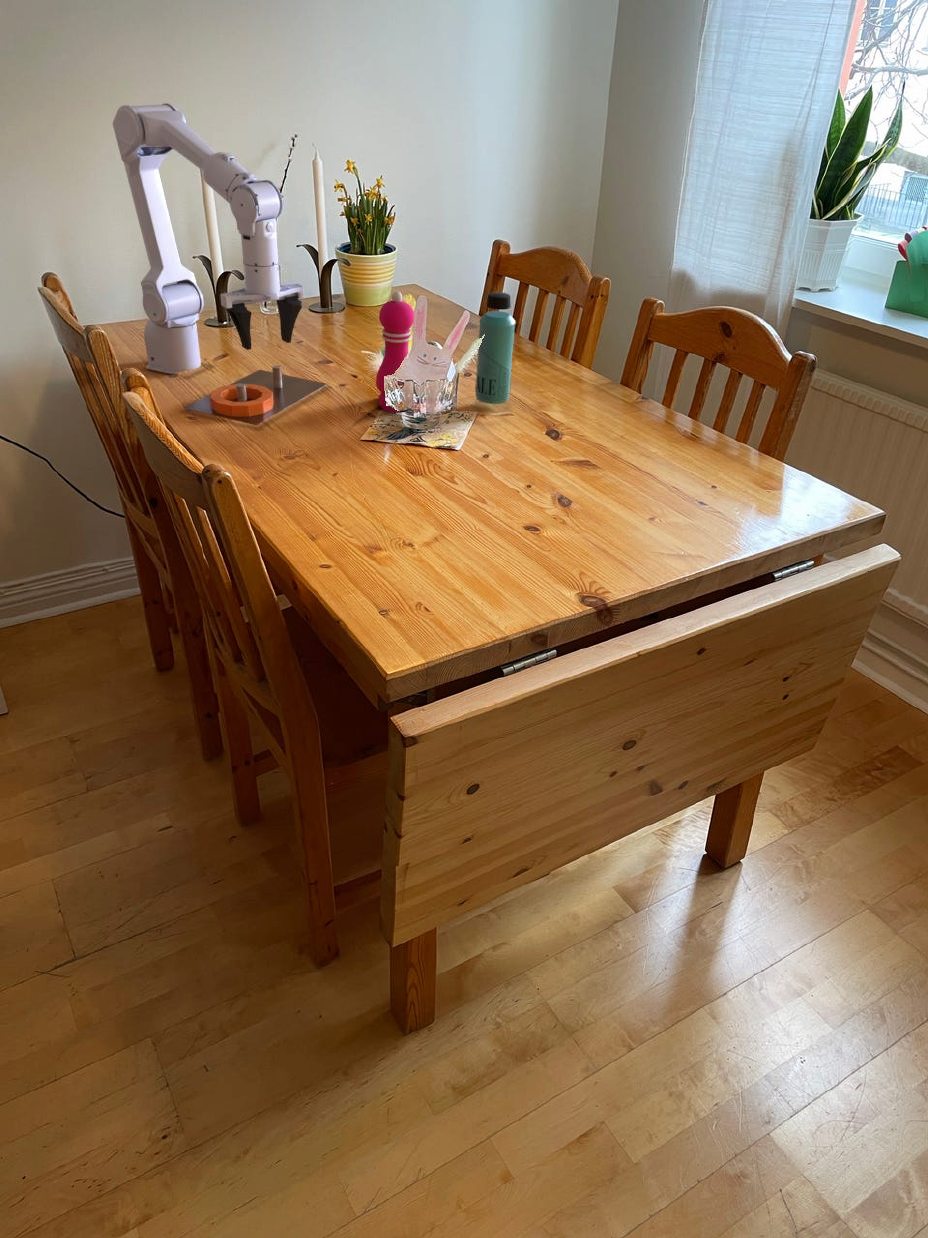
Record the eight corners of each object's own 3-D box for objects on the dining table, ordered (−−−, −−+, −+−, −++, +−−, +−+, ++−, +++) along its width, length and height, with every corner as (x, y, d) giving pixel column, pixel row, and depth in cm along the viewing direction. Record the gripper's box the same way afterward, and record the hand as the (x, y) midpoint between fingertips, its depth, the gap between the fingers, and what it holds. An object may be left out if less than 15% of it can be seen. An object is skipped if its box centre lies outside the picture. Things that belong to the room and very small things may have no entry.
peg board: (183, 412, 153) (180, 386, 151) (260, 373, 171) (258, 350, 168) (257, 429, 149) (254, 403, 146) (328, 387, 166) (327, 364, 164)
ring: (199, 409, 152) (197, 397, 151) (235, 390, 160) (234, 379, 159) (250, 421, 149) (249, 409, 148) (284, 401, 157) (284, 390, 156)
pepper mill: (410, 415, 157) (412, 299, 146) (371, 410, 158) (370, 294, 147) (420, 401, 163) (423, 288, 152) (382, 396, 164) (382, 284, 153)
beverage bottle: (510, 400, 165) (519, 289, 154) (508, 414, 160) (517, 300, 149) (475, 397, 166) (482, 286, 154) (472, 410, 160) (478, 296, 149)
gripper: (231, 272, 141) (239, 357, 148) (311, 263, 148) (315, 344, 156) (211, 262, 145) (220, 345, 153) (290, 254, 153) (295, 333, 161)
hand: (266, 344), depth 155 cm, fingers open, 7 cm apart
